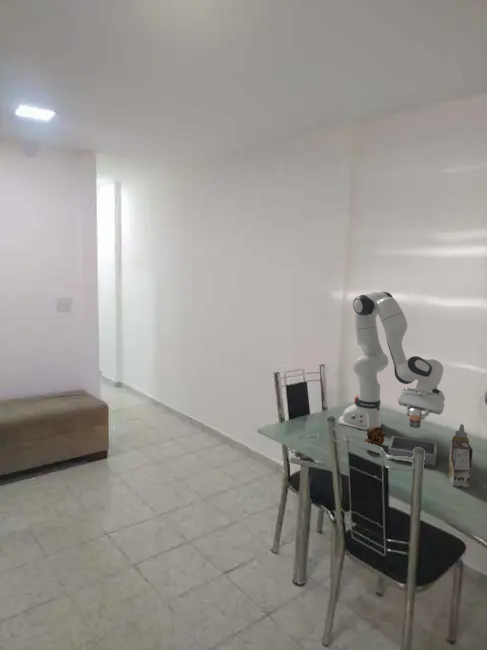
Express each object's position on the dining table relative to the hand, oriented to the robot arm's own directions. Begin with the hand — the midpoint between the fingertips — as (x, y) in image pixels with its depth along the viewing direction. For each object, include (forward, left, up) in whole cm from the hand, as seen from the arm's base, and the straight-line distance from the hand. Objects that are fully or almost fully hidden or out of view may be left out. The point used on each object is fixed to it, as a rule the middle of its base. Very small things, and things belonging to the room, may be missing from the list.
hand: (414, 416), depth 212 cm
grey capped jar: (0, +1, -4) cm, 4 cm away
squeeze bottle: (+20, +1, -19) cm, 27 cm away
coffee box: (+19, -17, -19) cm, 32 cm away
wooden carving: (-17, +3, -19) cm, 26 cm away
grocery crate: (0, +1, -19) cm, 19 cm away
